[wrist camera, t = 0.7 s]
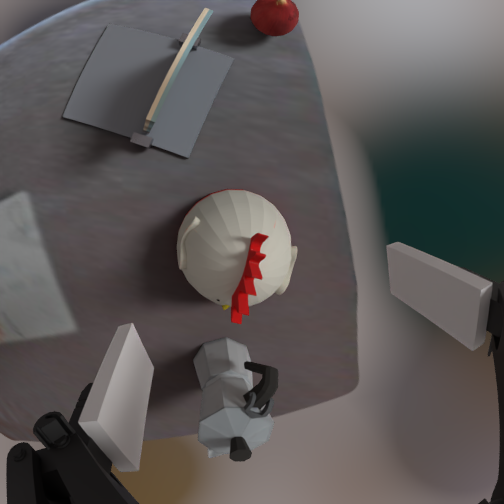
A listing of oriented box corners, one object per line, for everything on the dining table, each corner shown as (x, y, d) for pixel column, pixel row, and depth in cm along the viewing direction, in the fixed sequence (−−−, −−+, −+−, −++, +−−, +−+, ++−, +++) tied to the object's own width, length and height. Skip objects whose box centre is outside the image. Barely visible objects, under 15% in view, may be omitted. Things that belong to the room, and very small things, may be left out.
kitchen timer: (165, 279, 38) (151, 338, 24) (195, 175, 36) (194, 175, 21) (265, 305, 42) (299, 367, 27) (300, 208, 39) (356, 230, 25)
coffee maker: (227, 399, 45) (245, 489, 28) (177, 380, 42) (176, 475, 25) (278, 328, 43) (324, 413, 26) (225, 303, 40) (247, 390, 23)
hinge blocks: (132, 142, 33) (129, 141, 31) (183, 37, 30) (182, 33, 29) (150, 148, 33) (148, 147, 32) (200, 43, 31) (200, 38, 29)
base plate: (64, 117, 30) (62, 116, 30) (110, 25, 28) (109, 23, 27) (188, 158, 35) (188, 158, 34) (233, 60, 33) (234, 58, 32)
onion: (281, 8, 31) (298, -20, 24) (295, 41, 33) (316, 16, 25) (240, 14, 31) (251, -16, 23) (254, 48, 32) (267, 21, 25)
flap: (148, 134, 33) (142, 131, 32) (188, 51, 31) (182, 48, 30) (154, 124, 22) (144, 121, 21) (214, 9, 20) (205, 5, 19)
